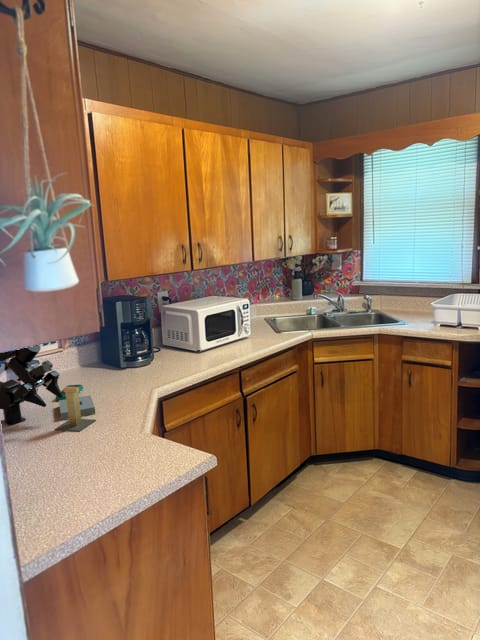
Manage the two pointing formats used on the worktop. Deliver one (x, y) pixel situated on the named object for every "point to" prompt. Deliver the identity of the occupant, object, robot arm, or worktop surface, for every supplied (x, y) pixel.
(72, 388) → the brass key
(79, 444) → the worktop surface
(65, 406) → the block
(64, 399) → the digital multimeter
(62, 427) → the rubber mat
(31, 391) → the robot arm
